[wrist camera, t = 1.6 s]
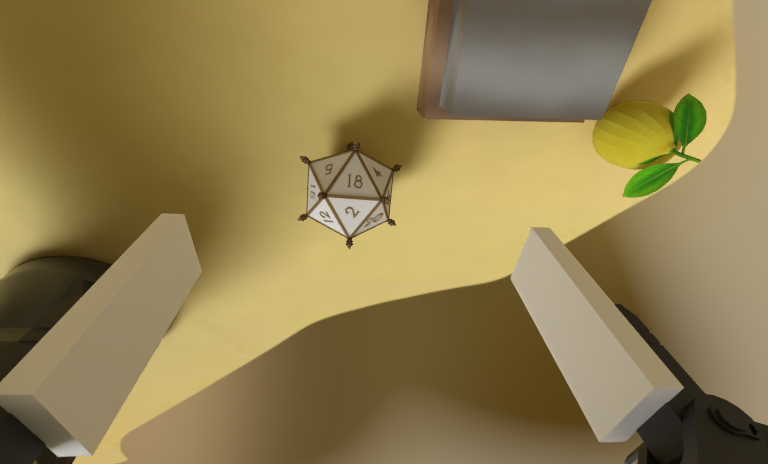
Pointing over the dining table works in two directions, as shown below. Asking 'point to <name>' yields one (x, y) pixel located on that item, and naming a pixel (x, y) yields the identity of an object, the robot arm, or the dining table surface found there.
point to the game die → (349, 192)
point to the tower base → (525, 58)
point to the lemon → (648, 140)
